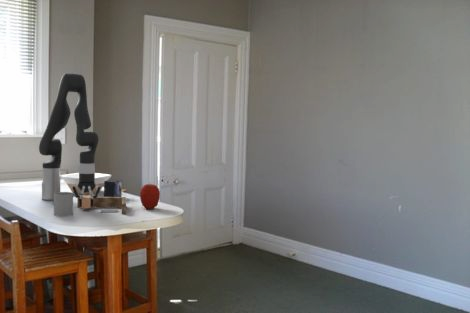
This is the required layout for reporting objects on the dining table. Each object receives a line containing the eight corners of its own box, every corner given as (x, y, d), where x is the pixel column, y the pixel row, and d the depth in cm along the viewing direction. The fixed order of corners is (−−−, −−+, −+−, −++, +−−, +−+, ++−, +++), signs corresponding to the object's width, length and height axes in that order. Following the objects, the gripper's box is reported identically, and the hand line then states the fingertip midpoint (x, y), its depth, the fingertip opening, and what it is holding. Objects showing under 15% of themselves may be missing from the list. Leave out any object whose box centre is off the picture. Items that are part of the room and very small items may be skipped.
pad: (100, 212, 248) (100, 211, 248) (101, 210, 253) (101, 209, 253) (117, 212, 250) (117, 211, 250) (117, 210, 255) (117, 209, 255)
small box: (114, 200, 283) (114, 181, 282) (103, 199, 284) (103, 180, 284) (122, 197, 293) (122, 179, 293) (111, 196, 295) (111, 178, 294)
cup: (56, 212, 245) (56, 191, 245) (74, 212, 246) (74, 192, 245) (52, 216, 237) (52, 194, 236) (70, 216, 238) (70, 195, 237)
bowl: (56, 193, 299) (56, 175, 298) (83, 188, 322) (83, 171, 321) (89, 197, 290) (89, 178, 289) (114, 191, 313) (115, 174, 312)
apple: (147, 211, 255) (147, 183, 254) (135, 208, 262) (136, 181, 260) (163, 209, 262) (164, 182, 261) (151, 206, 269) (152, 180, 268)
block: (81, 208, 251) (81, 198, 250) (82, 205, 257) (82, 195, 257) (90, 208, 251) (90, 198, 251) (91, 205, 258) (91, 195, 258)
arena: (74, 214, 241) (74, 204, 241) (77, 206, 261) (77, 197, 261) (125, 214, 247) (126, 203, 246) (125, 206, 266) (125, 196, 266)
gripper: (71, 172, 248) (70, 207, 249) (101, 173, 251) (100, 207, 252) (72, 171, 255) (72, 204, 256) (102, 171, 258) (101, 204, 260)
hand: (86, 206), depth 254 cm, fingers closed on block, 4 cm apart
